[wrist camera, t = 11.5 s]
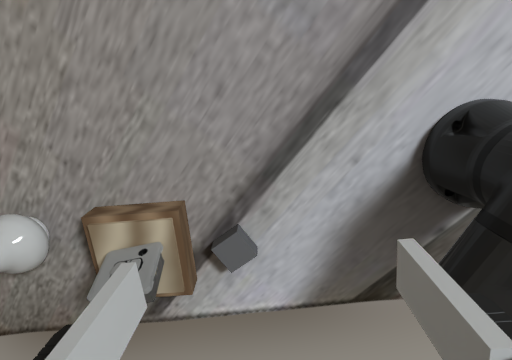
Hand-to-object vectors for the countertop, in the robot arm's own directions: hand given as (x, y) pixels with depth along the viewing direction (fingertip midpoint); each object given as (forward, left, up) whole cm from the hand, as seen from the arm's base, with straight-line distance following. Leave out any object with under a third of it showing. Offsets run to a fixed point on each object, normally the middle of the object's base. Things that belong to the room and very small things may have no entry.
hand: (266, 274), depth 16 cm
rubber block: (+5, +15, -32) cm, 35 cm away
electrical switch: (+19, +14, -27) cm, 36 cm away
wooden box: (+19, +14, -31) cm, 39 cm away
